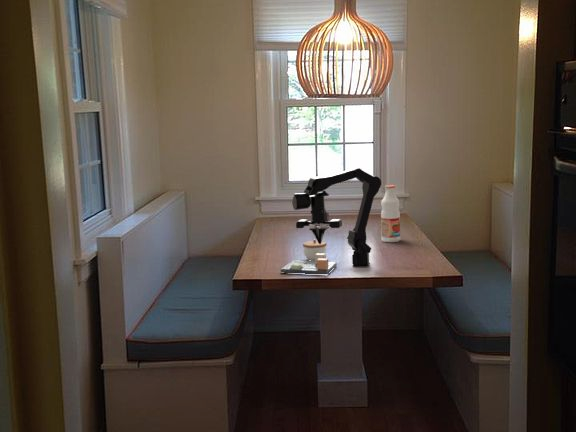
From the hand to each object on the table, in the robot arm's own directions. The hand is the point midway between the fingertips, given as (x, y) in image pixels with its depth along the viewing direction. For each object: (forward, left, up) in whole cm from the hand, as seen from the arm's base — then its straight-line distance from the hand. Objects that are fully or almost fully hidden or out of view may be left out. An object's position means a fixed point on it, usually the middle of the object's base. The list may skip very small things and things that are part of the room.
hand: (320, 243), depth 289 cm
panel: (+5, +1, -11) cm, 12 cm away
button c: (+9, +6, -11) cm, 15 cm away
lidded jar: (+8, -18, -12) cm, 23 cm away
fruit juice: (-18, -65, -12) cm, 68 cm away
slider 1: (+1, -3, -9) cm, 10 cm away
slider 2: (-3, +6, -9) cm, 11 cm away
